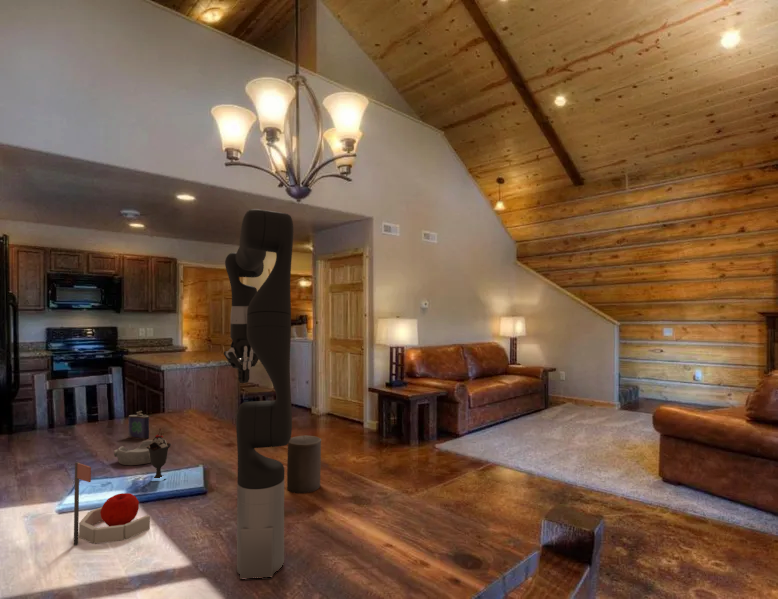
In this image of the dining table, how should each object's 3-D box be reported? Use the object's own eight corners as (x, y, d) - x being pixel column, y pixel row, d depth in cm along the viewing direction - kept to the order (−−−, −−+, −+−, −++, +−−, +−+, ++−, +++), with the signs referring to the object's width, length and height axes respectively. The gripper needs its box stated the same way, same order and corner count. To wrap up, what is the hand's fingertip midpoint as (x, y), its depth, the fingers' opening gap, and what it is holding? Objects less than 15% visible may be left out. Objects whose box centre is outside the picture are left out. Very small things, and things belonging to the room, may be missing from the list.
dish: (107, 465, 149) (108, 450, 149) (140, 452, 162) (140, 438, 162) (144, 469, 145) (144, 453, 145) (174, 455, 159) (174, 441, 159)
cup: (114, 514, 113) (114, 442, 113) (149, 528, 106) (150, 452, 106) (56, 536, 102) (58, 457, 102) (92, 554, 94) (93, 469, 95)
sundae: (164, 473, 141) (164, 425, 141) (174, 478, 137) (174, 429, 137) (142, 479, 136) (142, 430, 136) (151, 485, 132) (152, 434, 132)
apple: (102, 537, 101) (102, 504, 102) (97, 524, 108) (98, 493, 108) (141, 526, 107) (142, 495, 107) (135, 514, 113) (135, 485, 113)
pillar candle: (287, 495, 125) (288, 441, 125) (286, 481, 134) (287, 431, 134) (322, 491, 127) (323, 439, 127) (318, 479, 137) (319, 429, 137)
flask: (126, 438, 179) (127, 411, 179) (132, 436, 182) (132, 409, 182) (145, 439, 177) (146, 412, 177) (151, 437, 180) (151, 411, 180)
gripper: (235, 323, 120) (234, 387, 120) (270, 321, 132) (270, 380, 131) (216, 322, 124) (215, 385, 124) (252, 321, 135) (252, 378, 135)
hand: (243, 382), depth 128 cm, fingers closed
